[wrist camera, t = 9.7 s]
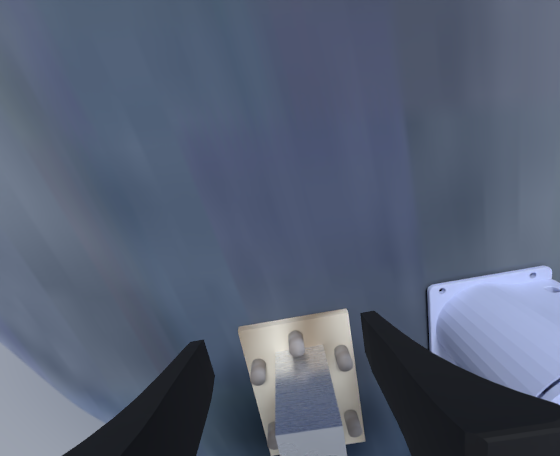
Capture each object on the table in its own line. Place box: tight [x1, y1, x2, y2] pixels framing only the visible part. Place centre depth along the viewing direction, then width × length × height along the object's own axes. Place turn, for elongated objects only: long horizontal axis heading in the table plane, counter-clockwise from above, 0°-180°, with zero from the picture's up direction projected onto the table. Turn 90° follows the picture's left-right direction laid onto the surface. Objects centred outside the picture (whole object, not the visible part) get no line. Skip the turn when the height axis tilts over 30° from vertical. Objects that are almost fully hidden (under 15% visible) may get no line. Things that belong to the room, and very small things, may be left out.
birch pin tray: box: [238, 309, 365, 456], centre depth 24 cm, size 9×14×2 cm, turn 10°
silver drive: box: [275, 345, 347, 456], centre depth 21 cm, size 4×8×7 cm, turn 10°
